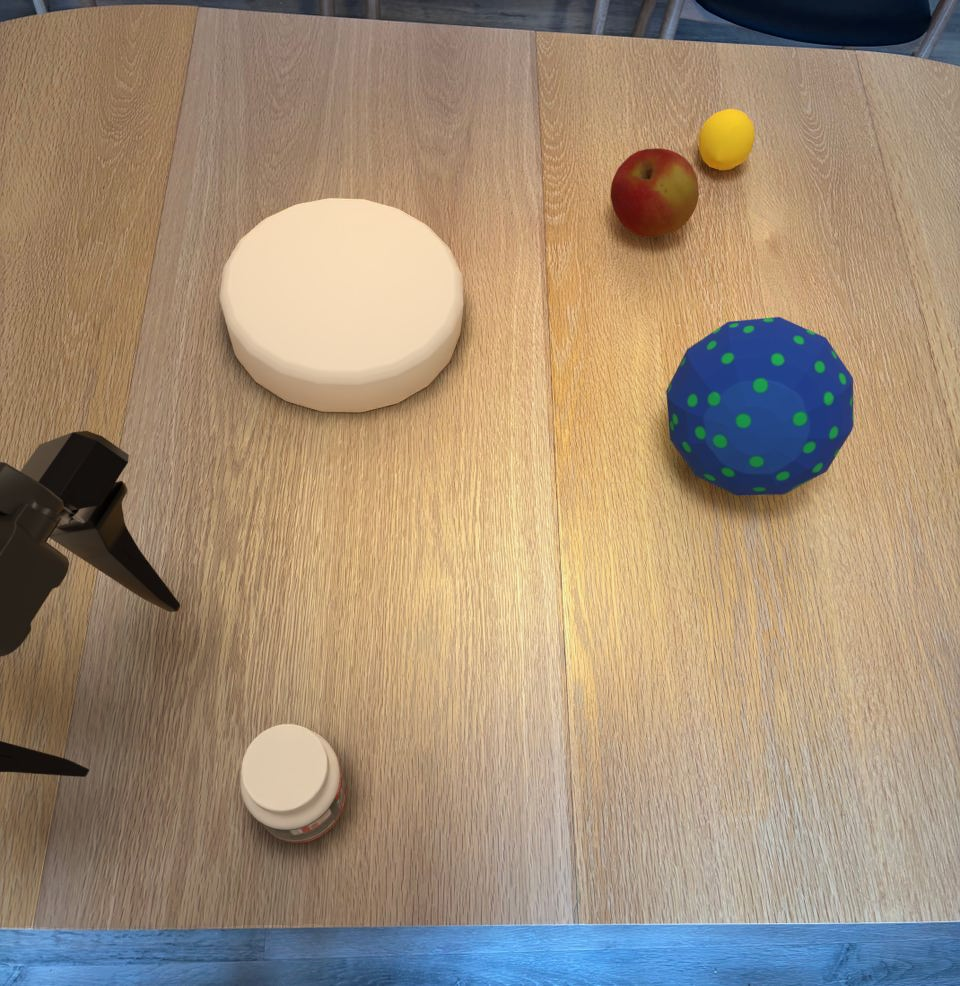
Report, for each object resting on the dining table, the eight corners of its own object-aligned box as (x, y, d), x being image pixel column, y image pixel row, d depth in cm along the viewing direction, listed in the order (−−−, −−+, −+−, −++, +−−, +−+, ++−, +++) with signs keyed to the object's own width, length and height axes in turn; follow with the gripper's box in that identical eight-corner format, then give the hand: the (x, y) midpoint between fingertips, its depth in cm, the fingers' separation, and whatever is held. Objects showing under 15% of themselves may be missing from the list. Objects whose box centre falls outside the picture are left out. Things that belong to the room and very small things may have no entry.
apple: (610, 188, 85) (630, 119, 78) (690, 209, 84) (717, 142, 77) (594, 242, 81) (613, 174, 74) (677, 264, 81) (705, 199, 73)
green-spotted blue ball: (870, 315, 69) (890, 350, 56) (824, 477, 74) (833, 545, 61) (693, 288, 73) (673, 315, 59) (662, 445, 78) (637, 501, 65)
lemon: (735, 191, 86) (755, 147, 81) (684, 174, 86) (701, 129, 82) (749, 147, 89) (769, 102, 84) (699, 131, 90) (716, 86, 85)
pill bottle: (362, 809, 56) (356, 783, 47) (283, 863, 54) (262, 845, 45) (318, 734, 57) (305, 695, 49) (240, 783, 56) (212, 751, 47)
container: (198, 393, 69) (186, 358, 65) (258, 215, 79) (251, 175, 75) (444, 430, 70) (447, 397, 66) (474, 249, 79) (478, 210, 75)
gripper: (-333, 760, 26) (103, 909, 35) (20, 317, 35) (298, 525, 44) (-356, 729, 34) (7, 858, 43) (-61, 372, 43) (189, 539, 51)
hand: (132, 686), depth 45 cm, fingers open, 9 cm apart
